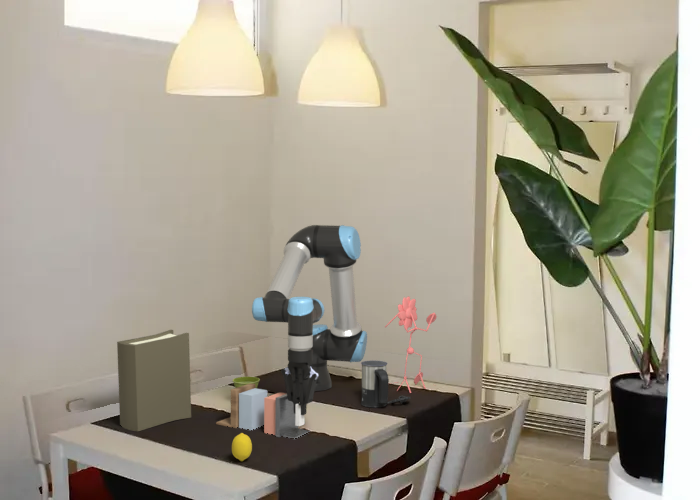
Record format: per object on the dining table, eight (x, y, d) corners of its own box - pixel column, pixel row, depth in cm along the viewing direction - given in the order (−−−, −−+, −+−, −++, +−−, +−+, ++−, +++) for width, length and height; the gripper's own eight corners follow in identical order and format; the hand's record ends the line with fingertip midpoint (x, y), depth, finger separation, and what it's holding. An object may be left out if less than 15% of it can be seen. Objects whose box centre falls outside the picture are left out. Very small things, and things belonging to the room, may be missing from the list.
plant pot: (242, 409, 279) (242, 384, 278) (227, 403, 286) (227, 379, 285) (265, 404, 285) (265, 380, 284) (249, 399, 292) (249, 375, 292)
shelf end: (236, 416, 270) (236, 380, 269) (255, 420, 266) (255, 384, 265) (216, 424, 262) (216, 387, 261) (235, 428, 257) (235, 390, 256)
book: (135, 434, 252) (132, 344, 250) (117, 428, 258) (114, 340, 256) (191, 417, 269) (188, 333, 266) (173, 412, 275) (170, 329, 272)
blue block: (254, 421, 265) (254, 388, 264) (267, 424, 262) (267, 390, 261) (239, 427, 258) (239, 393, 257) (251, 430, 255) (251, 395, 255)
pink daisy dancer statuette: (440, 385, 315) (442, 295, 313) (398, 397, 296) (400, 301, 293) (408, 378, 326) (410, 291, 323) (366, 390, 306) (367, 297, 303)
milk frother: (354, 403, 288) (355, 362, 287) (388, 396, 298) (388, 356, 297) (382, 412, 277) (383, 369, 276) (415, 405, 287) (416, 363, 286)
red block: (279, 426, 260) (279, 392, 259) (292, 429, 257) (292, 394, 256) (264, 433, 253) (264, 397, 252) (277, 435, 250) (277, 400, 249)
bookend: (294, 428, 258) (294, 390, 257) (311, 431, 255) (311, 393, 254) (275, 436, 249) (275, 397, 248) (292, 440, 246) (293, 400, 245)
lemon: (228, 463, 225) (228, 434, 225) (237, 457, 231) (237, 429, 230) (245, 465, 223) (246, 437, 223) (255, 459, 229) (255, 431, 228)
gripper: (325, 348, 249) (324, 425, 250) (289, 344, 255) (289, 418, 257) (311, 352, 242) (310, 431, 244) (275, 348, 249) (275, 424, 251)
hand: (299, 424), depth 251 cm, fingers closed
